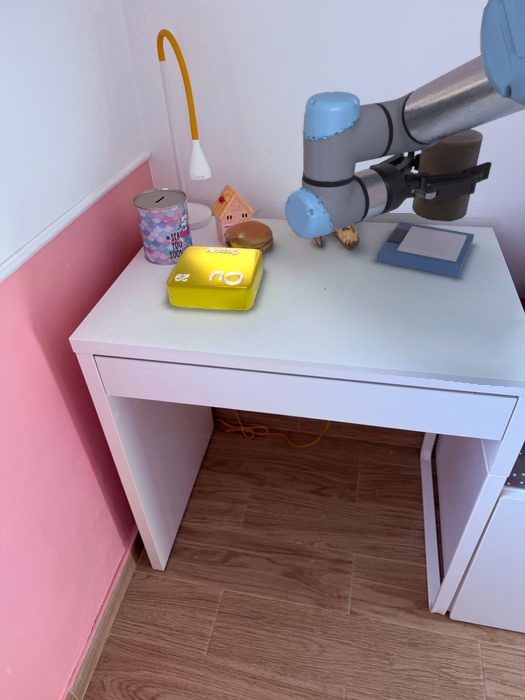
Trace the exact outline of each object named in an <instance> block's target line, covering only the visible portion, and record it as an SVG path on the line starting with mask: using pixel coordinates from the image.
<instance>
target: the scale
mask: <svg viewBox="0 0 525 700" xmlns="http://www.w3.org/2000/svg"><path fill="white" fill-rule="evenodd" d="M474 237H475V234H474V233H470V232H464V231H463V232H462V231H457V230H452V229H446V228H441V227H436V226H428V225H422V224H417V223H411V222H405V221H399V222H398V223H397V225H396V226H395V228H394V229H393V230H392V232H391V233H390V235H389V236H388V238H386V240H385V242H384V243H383V245H382V246H381V247H380V249H379V252H378V260H377V261H378V263H384V264H390V265H393V266H399V267H404V268H407V269H408V268H409V269H414V270H418V271H423V272H428V273H432V274H433V273H434V274H437V275H443V276H449V277H453V278H456V279H457V278H459V276H460V274H461V272H462V270H463V267H464V265H465V262H466V260H467V258H468V255H469V253H470V251H471V248H472V246H473V241H474Z"/></svg>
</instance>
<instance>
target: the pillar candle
mask: <svg viewBox="0 0 525 700" xmlns="http://www.w3.org/2000/svg"><path fill="white" fill-rule="evenodd" d="M483 140H484V135H483V133H482V132H480V131H478V130H477V129H474V128H472V129H469V130H466V131H463V132H461V133H458V134H455V135H452V136H450V137H447V138H444V139H441V140H440V141H439V142H438V143H437V144H435V145H434V146H431V147H428V148H426V149H423V150H420V153H421V156H420V162H419V168H418V171H417V173H426V172H427V173H429V174H430V175H441V174H455V173H463V170H465V169H468V168H471V167H474V166H477V165H478V161H479V157H480V152H481V148H482V142H483ZM423 180H424V178H422V184H421V188H422V186H423ZM470 198H471V194H469V195H463V196H458V197H452V198H447V199H442V200H437V201H434V202H432V203H430V204H426V203H424V202H423V201H424V197H421V196H417V197H414V198H413V199H412V206H411V208H412V212H413V213H415V214H416V215H417V216H418V217H420V218H421V219H426V220H430V221H434V222H435V221H436V222H455V221H458V220H460V219H463V218H464V217H465V216H466V215H467V213H468V208H469V202H470Z"/></svg>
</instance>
